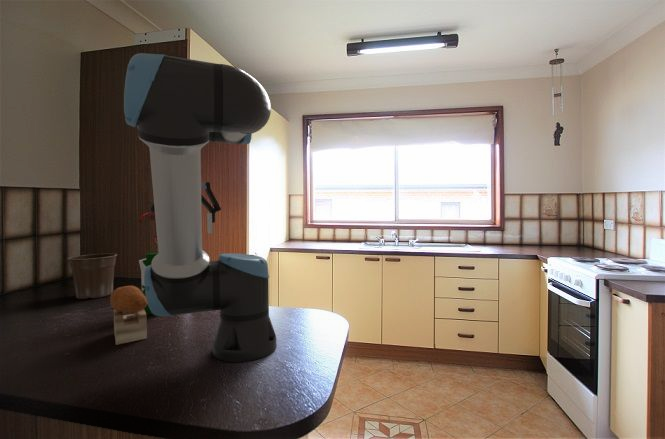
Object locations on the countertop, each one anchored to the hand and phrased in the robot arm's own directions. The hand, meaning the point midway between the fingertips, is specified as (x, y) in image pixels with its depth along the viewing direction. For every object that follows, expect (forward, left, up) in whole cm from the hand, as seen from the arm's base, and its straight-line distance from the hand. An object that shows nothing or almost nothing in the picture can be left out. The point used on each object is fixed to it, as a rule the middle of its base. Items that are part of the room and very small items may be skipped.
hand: (187, 234), depth 103 cm
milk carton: (+15, +7, -27) cm, 32 cm away
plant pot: (+54, +25, -27) cm, 65 cm away
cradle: (-5, +16, -27) cm, 32 cm away
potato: (-5, +16, -20) cm, 27 cm away
